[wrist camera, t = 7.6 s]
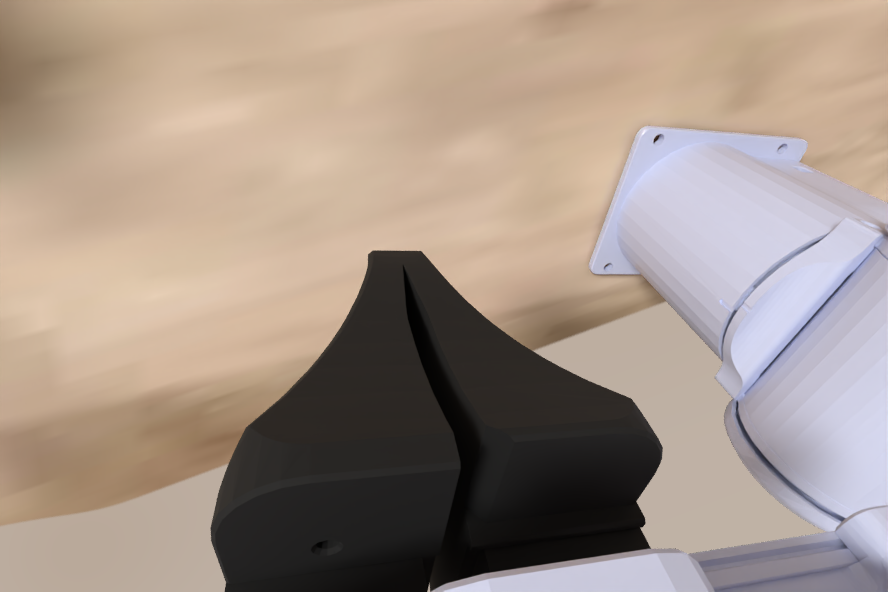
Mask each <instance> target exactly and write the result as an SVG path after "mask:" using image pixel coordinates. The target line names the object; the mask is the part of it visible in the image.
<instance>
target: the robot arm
mask: <svg viewBox="0 0 888 592" xmlns="http://www.w3.org/2000/svg"><path fill="white" fill-rule="evenodd" d="M658 134H660V135H659V138H658V140H657V141H656V142H653V141H654V138H655V137H656V136H657V135H658ZM780 146H781V147H780ZM807 146H808V143H807V141H806V140H803V139H801V138H795V137H783V136H770V135H758V134H746V133H733V132H721V131H709V130H696V129H684V128H672V127H659V126H645V127H643V128H641V129H640V130H639V131H638V133H637V135H636V137H635V139H634V142H633V145H632V148H631V150H630V153H629V156H628V159H627V161H626V164H625V167H624V170H623V172H622V175H621V178H620V181H619V183H618V186H617V189H616V192H615V194H614V197H613V200H612V203H611V205H610V208H609V211H608V213H607V216H606V219H605V222H604V224H603V227H602V230H601V233H600V235H599V238H598V241H597V244H596V246H595V249H594V252H593V255H592V257H591V260H590V263H589V269H590V270H591V272H592V273H594V274H641V275H642V276H643V277H644V278H645V279H646V280H647V281H648V282H649V283H650V284H651V285H652V286H653V287H654V288H655V290H656V291H657V292H658V293H659V294H660V295H661V296H662V297H663V298H664V299H665V300H666V301H667V302H668V304H669V305H670V306H671V307H672V308H673V309H674V310H675V311H676V312H677V313H678V314H679V315H680V316H681V317H682V319H684V321H685V322H686V323H687V324H688V325H689V326H690V327H691V328H692V329H693V330H694V331H695V333H696V334H697V335H698V336H699V337H700V338H701V339H702V340H703V341H704V342H705V343H706V344H707V345H708V346H709V348H710V349H711V350H712V351H713V352H714V353H715V354H716V355H717V356H718V357H719V358H720V359H721V360H722V361H723V363H722V366H721V368H720V370H719V371H718V373H717V374H716V376H715V379H716V380H717V381H718V382H719V383H720V384H721V386H723V388H724V389H725V390H726V391H727V392H728V393H729V395H730V396H731V397H732V398H733V400H731V401H730V403H729V404H728V405H727V407H726V410H725V414H724V423H725V427H726V430H727V434H728V436H729V438H730V441H731V443H732V445H733V447H734V448H735V450H736V452H737V454H738V456H739V457H740V459H741V461H742V462H743V464H744V465H745V467H746V468H747V469H748V471H749V472H750V473H751V474H752V476H753V477H754V478H755V479H756V480H757V481H758V482H759V483H760V484H761V485H762V487H763V488H764V489H766V490H767V492H768V493H770V494H771V495H772V496H773V497H774V498H775V499H776V500H777V501H779V502H780V503H781V504H782V505H784V506H785V507H786V508H788V509H789V510H790V511H792V512H793V513H794V514H796V515H798V516H799V517H800V518H802V519H804V520H805V521H807V522H808V523H810V524H812V525H814V526H816V527H818V528H820V529H822V530H824V531H826V532H825V533H818V534H812V535H805V536H799V537H793V538H786V539H780V540H773V541H767V542H761V543H754V544H748V545H741V546H735V547H729V548H722V549H716V550H710V551H703V552H697V553H690V554H687V553H685V552H682V551H680V550H678V549H651V548H650V546H649V544H648V542H647V540H646V538H645V536H644V535H643V533H642V531H641V529H640V527H643V526H644V525H645V517H644V515H643V513H642V512H641V510H640V508H639V506H638V504H637V502H636V501H637V499H638V498H639V497H640V495H641V494H642V492H643V491H644V489H645V488H646V486H647V485H648V483H649V482H650V480H651V479H652V477H653V476H654V475H655V473H656V471H657V468H658V467H659V465H660V462H661V460H662V449H663V448H662V445H661V443H660V441H659V439H658V438H657V436H656V435H655V433H654V431H653V430H652V428H651V427H650V425H649V424H648V422H647V420H646V419H645V417H644V416H643V414H642V413H641V412H640V410H639V409H638V407H637V406H636V405H635V403H634V402H633V400H632V399H631V398H628V397H626V396H624V395H621V394H619V393H616V392H614V391H611V390H609V389H607V388H604V387H602V386H599V385H597V384H595V383H592V382H589V381H588V380H585V379H583V378H581V377H579V376H577V375H575V374H573V373H571V372H569V371H567V370H565V369H563V368H561V367H559V366H557V365H556V364H554V363H552V362H550V361H548V360H546V359H545V358H543V357H541V356H539V355H538V354H536V353H535V352H533V351H532V350H530V349H528V348H527V347H525V346H523V345H522V344H520V343H519V342H517V341H516V340H514V339H513V338H511V337H510V336H509V335H507V334H506V333H505V332H503V331H502V330H501V329H499V328H498V327H497V326H495V325H494V324H493V323H491V322H490V321H489V320H488V319H486V318H485V317H484V316H483V315H482V314H481V313H479V312H478V311H477V310H476V309H475V308H474V307H473V306H472V305H471V304H469V303H468V302H467V301H466V300H465V299H464V298H463V297H462V296H461V295H460V294H459V293H458V292H457V291H456V290H455V289H454V288H453V287H452V285H451V284H450V283H449V282H448V281H447V280H446V279H445V278H444V277H443V276H442V274H441V273H440V272H439V271H438V270H437V269H436V268H435V266H434V265H433V264H432V263H431V262H430V260H429V259H428V258H427V257H426V256H425V255H424V254H423V253H422V251H372V252H371V253H369V254H368V268H367V271H366V275H365V278H364V281H363V284H362V286H361V289H360V291H359V294H358V296H357V298H356V300H355V302H354V304H353V306H352V308H351V310H350V312H349V314H348V316H347V318H346V319H345V321H344V323H343V324H342V326H341V328H340V329H339V331H338V332H337V334H336V335H335V337H334V338H333V340H332V341H331V343H330V344H329V345H328V346H327V348H326V349H325V350H324V352H323V353H322V354H321V356H320V357H319V358H318V359H317V361H316V362H315V363H314V364H313V365H312V367H311V368H310V369H309V370H308V371H307V372H306V373H305V374H304V375H303V376H302V377H301V378H300V379H299V380H298V381H297V382H296V383H295V384H294V385H293V386H292V388H291V389H290V390H289V391H288V392H287V393H286V394H285V395H284V396H282V397H281V398H280V399H279V400H278V401H277V402H276V403H275V404H273V405H272V406H271V407H270V408H269V409H268V410H266V411H265V412H264V413H263V414H262V415H260V416H259V417H258V418H257V419H256V420H255V421H253V422H252V423H251V424H250V425H248V426H247V427H246V429H245V431H244V433H243V435H242V437H241V439H240V441H239V443H238V445H237V447H236V449H235V451H234V453H233V455H232V458H231V460H230V462H229V465H228V467H227V470H226V472H225V475H224V478H223V481H222V484H221V487H220V490H219V493H218V498H217V502H216V507H215V511H214V516H213V520H212V525H211V541H212V544H213V547H214V550H215V553H216V555H217V558H218V561H219V564H220V567H221V569H222V572H223V575H224V578H225V581H226V587H225V592H427V590H428V586H429V582H430V592H888V203H887V202H885V201H883V200H880V199H878V198H876V197H874V196H872V195H870V194H867V193H865V192H863V191H861V190H859V189H857V188H854V187H852V186H850V185H848V184H846V183H844V182H841V181H839V180H837V179H835V178H833V177H831V176H829V175H826V174H824V173H822V172H820V171H818V170H816V169H813V168H811V167H809V166H807V165H805V164H803V163H800V162H799V161H800V160H801V158H802V156H803V155H804V153H805V151H806V149H807ZM779 147H780V148H779ZM778 148H779V149H778ZM606 264H609V265H608V266H606V267H604V266H605V265H606Z"/></svg>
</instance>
